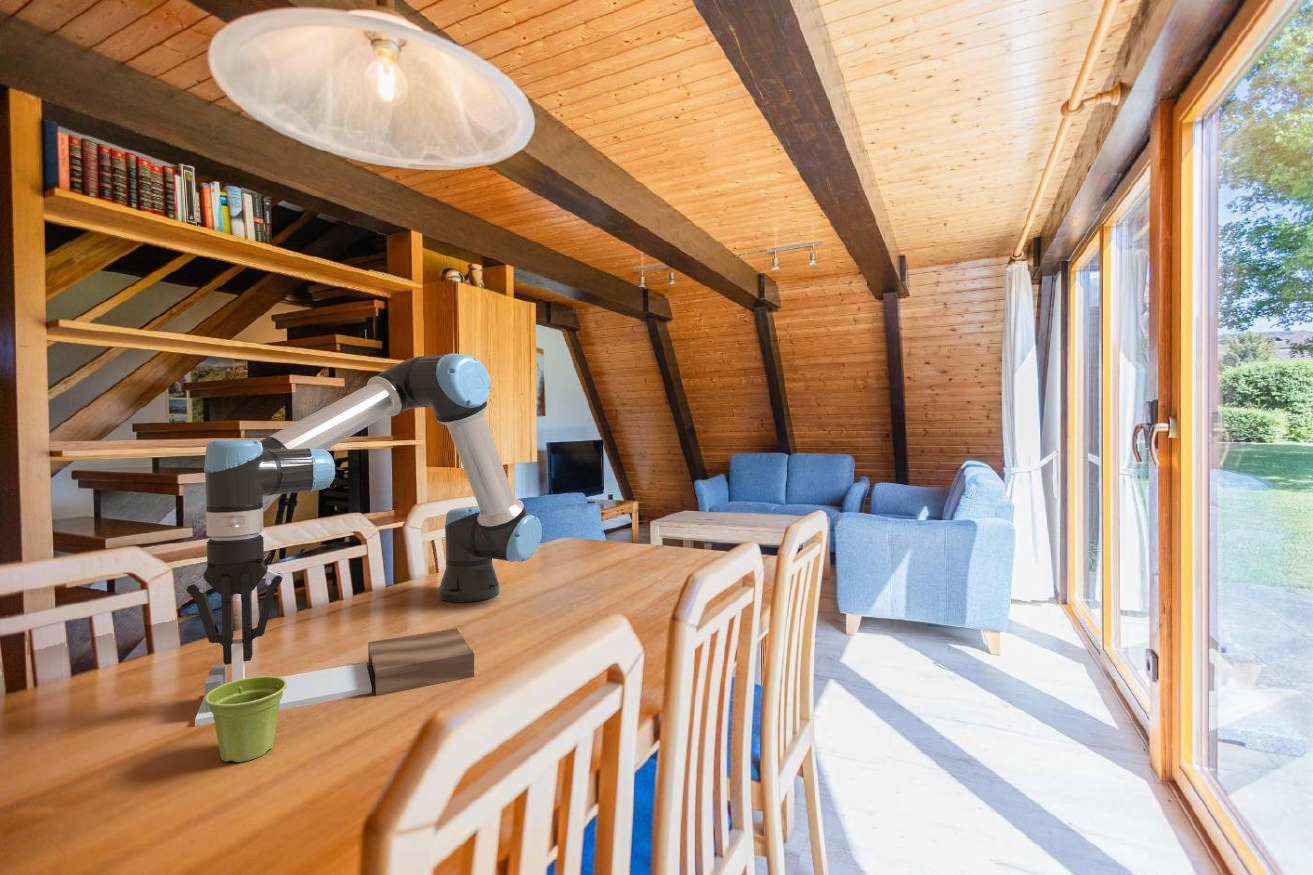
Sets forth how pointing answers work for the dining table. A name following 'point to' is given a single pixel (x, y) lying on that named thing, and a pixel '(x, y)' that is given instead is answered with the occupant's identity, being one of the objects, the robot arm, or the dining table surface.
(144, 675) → the dining table surface
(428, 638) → the walnut case
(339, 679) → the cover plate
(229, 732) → the plant pot
